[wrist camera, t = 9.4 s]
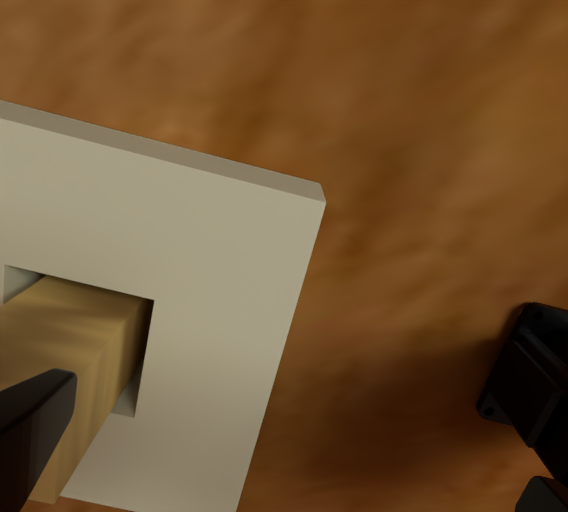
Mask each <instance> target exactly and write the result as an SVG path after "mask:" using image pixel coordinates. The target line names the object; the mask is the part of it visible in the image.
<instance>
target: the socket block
mask: <svg viewBox="0 0 568 512" xmlns="http://www.w3.org/2000/svg"><path fill="white" fill-rule="evenodd" d="M325 205H326V200H325V197H324V194H323V191H322V188H321V185H320V183H317V182H313V181H309V180H305V179H301V178H297V177H294V176H290V175H286V174H282V173H278V172H274V171H271V170H267V169H263V168H259V167H255V166H251V165H248V164H244V163H240V162H236V161H232V160H228V159H225V158H221V157H217V156H213V155H209V154H205V153H202V152H198V151H194V150H190V149H186V148H183V147H179V146H175V145H171V144H167V143H163V142H160V141H156V140H152V139H148V138H144V137H140V136H137V135H133V134H129V133H125V132H121V131H117V130H114V129H110V128H106V127H102V126H98V125H94V124H91V123H87V122H83V121H79V120H75V119H71V118H68V117H64V116H60V115H56V114H52V113H48V112H45V111H41V110H37V109H33V108H29V107H25V106H22V105H18V104H14V103H10V102H6V101H2V100H0V306H2V305H3V304H5V303H6V302H8V301H9V300H11V299H12V298H14V297H15V296H17V295H18V294H20V293H21V292H23V291H24V290H26V289H27V288H29V287H30V286H32V285H33V284H35V283H36V282H38V281H39V280H41V279H42V278H44V277H45V276H47V275H52V276H56V277H60V278H64V279H68V280H73V281H77V282H81V283H85V284H89V285H93V286H98V287H102V288H106V289H110V290H114V291H119V292H123V293H127V294H131V295H135V296H139V297H144V298H148V299H152V300H154V306H153V312H152V318H151V324H150V330H149V335H148V341H147V347H146V353H145V359H144V360H142V361H141V362H140V364H139V366H138V367H137V369H136V371H135V372H134V374H133V375H132V377H131V379H130V380H129V382H128V384H127V385H126V387H125V389H124V390H123V392H122V394H121V395H120V397H119V398H118V400H117V402H116V403H115V405H114V407H113V408H112V410H111V412H110V413H109V415H108V417H107V418H106V420H105V421H104V423H103V425H102V426H101V428H100V430H99V431H98V433H97V435H96V436H95V438H94V440H93V441H92V443H91V444H90V446H89V448H88V449H87V451H86V453H85V454H84V456H83V458H82V459H81V461H80V463H79V464H78V466H77V467H76V469H75V471H74V472H73V474H72V476H71V477H70V479H69V481H68V482H67V484H66V486H65V487H64V489H63V490H62V492H61V494H60V495H59V496H63V497H68V498H73V499H77V500H82V501H87V502H92V503H97V504H101V505H106V506H111V507H116V508H120V509H125V510H130V511H135V512H236V509H237V506H238V503H239V499H240V496H241V492H242V489H243V485H244V482H245V479H246V475H247V472H248V468H249V465H250V462H251V458H252V455H253V451H254V448H255V444H256V441H257V438H258V434H259V431H260V427H261V424H262V421H263V417H264V414H265V410H266V407H267V403H268V400H269V397H270V393H271V390H272V386H273V383H274V380H275V376H276V373H277V369H278V366H279V362H280V359H281V356H282V352H283V349H284V345H285V342H286V339H287V335H288V332H289V328H290V325H291V321H292V318H293V315H294V311H295V308H296V304H297V301H298V298H299V294H300V291H301V287H302V284H303V280H304V277H305V274H306V270H307V267H308V263H309V260H310V256H311V253H312V250H313V246H314V243H315V239H316V236H317V233H318V229H319V226H320V222H321V219H322V215H323V212H324V209H325Z"/></svg>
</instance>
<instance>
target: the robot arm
mask: <svg viewBox="0 0 568 512" xmlns="http://www.w3.org/2000/svg"><path fill="white" fill-rule="evenodd" d="M536 311H538V314H537V315H536V316H534V317H532V314H533V313H534V312H536ZM77 381H78V378H77V374H76V373H75V372H73V371H69V370H64V369H60V368H52V369H50V370H47V371H45V372H43V373H40V374H38V375H36V376H33V377H31V378H29V379H26V380H24V381H22V382H19V383H17V384H15V385H12V386H10V387H8V388H5V389H3V390H0V512H20V510H21V508H22V507H23V505H24V504H25V502H26V501H27V499H28V497H29V496H30V494H31V492H32V490H33V489H34V487H35V485H36V483H37V481H38V479H39V478H40V476H41V474H42V472H43V470H44V468H45V467H46V465H47V463H48V461H49V459H50V457H51V456H52V454H53V452H54V450H55V448H56V446H57V445H58V443H59V441H60V439H61V437H62V435H63V434H64V432H65V430H66V428H67V426H68V424H69V422H70V420H71V418H72V416H73V413H74V409H75V400H76V391H77ZM488 407H491V408H490V409H488V410H485V409H486V408H488ZM476 409H477V411H478V413H479V415H480V416H481V417H482V418H483V419H486V420H490V421H495V422H499V423H503V424H507V425H512V426H513V427H514V428H515V430H516V431H517V432H518V434H519V435H520V437H521V438H522V440H523V441H524V443H525V444H526V446H528V447H529V448H533V449H534V451H535V452H536V454H537V455H538V456H539V458H540V459H541V461H542V462H543V464H544V465H545V466H546V468H547V469H548V471H549V472H550V474H551V475H552V476H553V478H554V479H551V478H546V477H542V476H534V477H533V478H531V479H530V481H529V482H528V484H527V486H526V488H525V489H524V491H523V493H522V495H521V496H520V498H519V500H518V502H517V504H516V506H515V512H568V310H565V309H561V308H557V307H553V306H549V305H545V304H541V303H537V302H533V303H529V304H528V305H526V306H525V307H524V309H523V310H522V312H521V314H520V316H519V318H518V320H517V323H516V325H515V327H514V329H513V331H512V333H511V335H510V337H509V339H508V341H507V342H506V343H505V344H504V346H503V348H502V350H501V353H500V355H499V357H498V359H497V361H496V363H495V365H494V367H493V369H492V371H491V373H490V375H489V377H488V379H487V381H486V386H485V388H484V390H483V392H482V394H481V396H480V398H479V400H478V402H477V405H476Z"/></svg>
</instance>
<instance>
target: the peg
mask: <svg viewBox="0 0 568 512" xmlns="http://www.w3.org/2000/svg"><path fill="white" fill-rule="evenodd" d="M153 306H154V300H152V299H148V298H144V297H139V296H135V295H131V294H127V293H123V292H119V291H114V290H110V289H106V288H102V287H98V286H93V285H89V284H85V283H81V282H77V281H73V280H68V279H64V278H60V277H56V276H52V275H47V276H45V277H44V278H42V279H41V280H39V281H38V282H36V283H35V284H33V285H32V286H30V287H29V288H27V289H26V290H24V291H23V292H21V293H20V294H18V295H17V296H15V297H14V298H12V299H11V300H9V301H8V302H6V303H5V304H3V305H2V306H0V390H3V389H5V388H8V387H10V386H12V385H15V384H17V383H19V382H22V381H24V380H26V379H29V378H31V377H33V376H36V375H38V374H40V373H43V372H45V371H47V370H50V369H52V368H60V369H64V370H69V371H73V372H75V373H76V374H77V378H78V381H77V391H76V400H75V409H74V413H73V416H72V418H71V420H70V422H69V424H68V426H67V428H66V430H65V432H64V434H63V435H62V437H61V439H60V441H59V443H58V445H57V446H56V448H55V450H54V452H53V454H52V456H51V457H50V459H49V461H48V463H47V465H46V467H45V468H44V470H43V472H42V474H41V476H40V478H39V479H38V481H37V483H36V485H35V487H34V489H33V490H32V492H31V494H30V496H29V497H28V499H29V500H34V501H39V502H44V503H49V504H55V502H56V500H57V499H58V497H59V495H60V494H61V492H62V490H63V489H64V487H65V486H66V484H67V482H68V481H69V479H70V477H71V476H72V474H73V472H74V471H75V469H76V467H77V466H78V464H79V463H80V461H81V459H82V458H83V456H84V454H85V453H86V451H87V449H88V448H89V446H90V444H91V443H92V441H93V440H94V438H95V436H96V435H97V433H98V431H99V430H100V428H101V426H102V425H103V423H104V421H105V420H106V418H107V417H108V415H109V413H110V412H111V410H112V408H113V407H114V405H115V403H116V402H117V400H118V398H119V397H120V395H121V394H122V392H123V390H124V389H125V387H126V385H127V384H128V382H129V380H130V379H131V377H132V375H133V374H134V372H135V371H136V369H137V367H138V366H139V364H140V362H141V361H142V359H143V357H144V356H145V353H146V347H147V341H148V335H149V330H150V324H151V318H152V312H153Z"/></svg>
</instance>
